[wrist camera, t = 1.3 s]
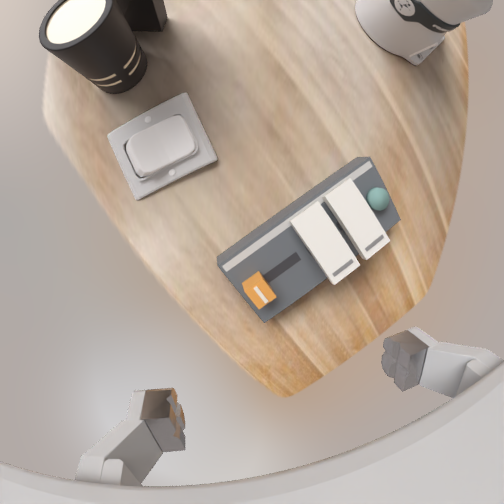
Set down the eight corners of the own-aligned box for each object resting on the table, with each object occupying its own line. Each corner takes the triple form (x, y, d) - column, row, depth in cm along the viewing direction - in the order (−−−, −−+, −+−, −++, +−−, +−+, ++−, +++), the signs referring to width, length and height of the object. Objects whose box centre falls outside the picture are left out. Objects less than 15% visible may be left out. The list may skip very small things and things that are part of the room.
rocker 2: (346, 179, 37) (350, 177, 35) (385, 240, 37) (390, 240, 35) (321, 197, 37) (325, 196, 35) (362, 258, 37) (367, 260, 36)
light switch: (98, 133, 32) (183, 86, 31) (109, 136, 36) (187, 93, 35) (129, 204, 35) (217, 159, 34) (138, 200, 39) (218, 159, 38)
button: (378, 183, 38) (383, 183, 36) (387, 201, 39) (392, 202, 37) (362, 194, 38) (367, 195, 37) (372, 213, 39) (377, 214, 38)
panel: (356, 157, 40) (373, 156, 36) (386, 215, 44) (404, 220, 39) (216, 257, 41) (217, 268, 37) (259, 310, 45) (265, 326, 40)
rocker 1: (315, 202, 37) (318, 200, 35) (356, 263, 37) (360, 265, 36) (288, 221, 37) (290, 221, 35) (330, 283, 38) (334, 285, 36)
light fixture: (85, 93, 32) (21, 56, 15) (111, 18, 29) (72, -43, 12) (144, 95, 34) (104, 46, 17) (169, 17, 30) (153, -54, 13)
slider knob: (258, 270, 39) (263, 279, 35) (271, 288, 40) (277, 297, 36) (241, 283, 39) (244, 292, 36) (255, 299, 40) (259, 310, 37)
